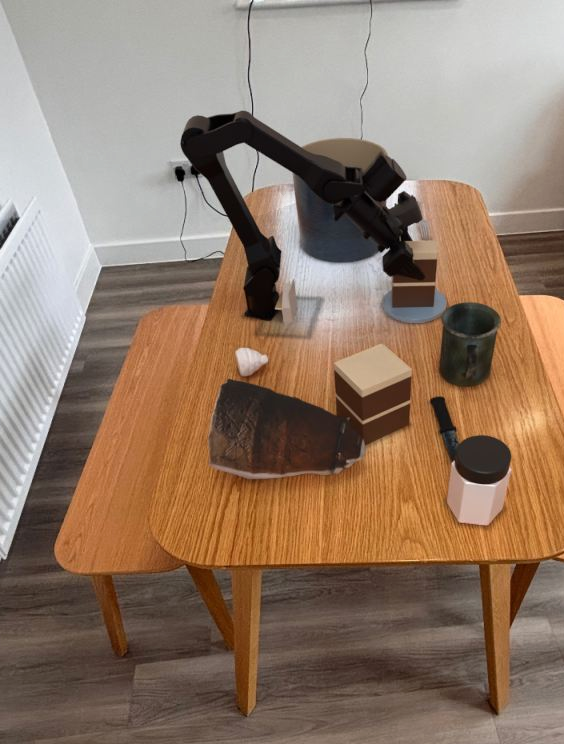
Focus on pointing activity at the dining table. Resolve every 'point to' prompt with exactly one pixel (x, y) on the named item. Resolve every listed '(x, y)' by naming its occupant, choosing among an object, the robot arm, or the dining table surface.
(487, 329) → the mug
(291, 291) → the napkin holder
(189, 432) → the dining table surface
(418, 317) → the plate
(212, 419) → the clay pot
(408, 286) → the cake slice
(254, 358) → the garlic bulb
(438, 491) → the dining table surface
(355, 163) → the planter
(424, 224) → the fork
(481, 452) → the jar
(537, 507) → the dining table surface
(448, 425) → the knife
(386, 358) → the cake
